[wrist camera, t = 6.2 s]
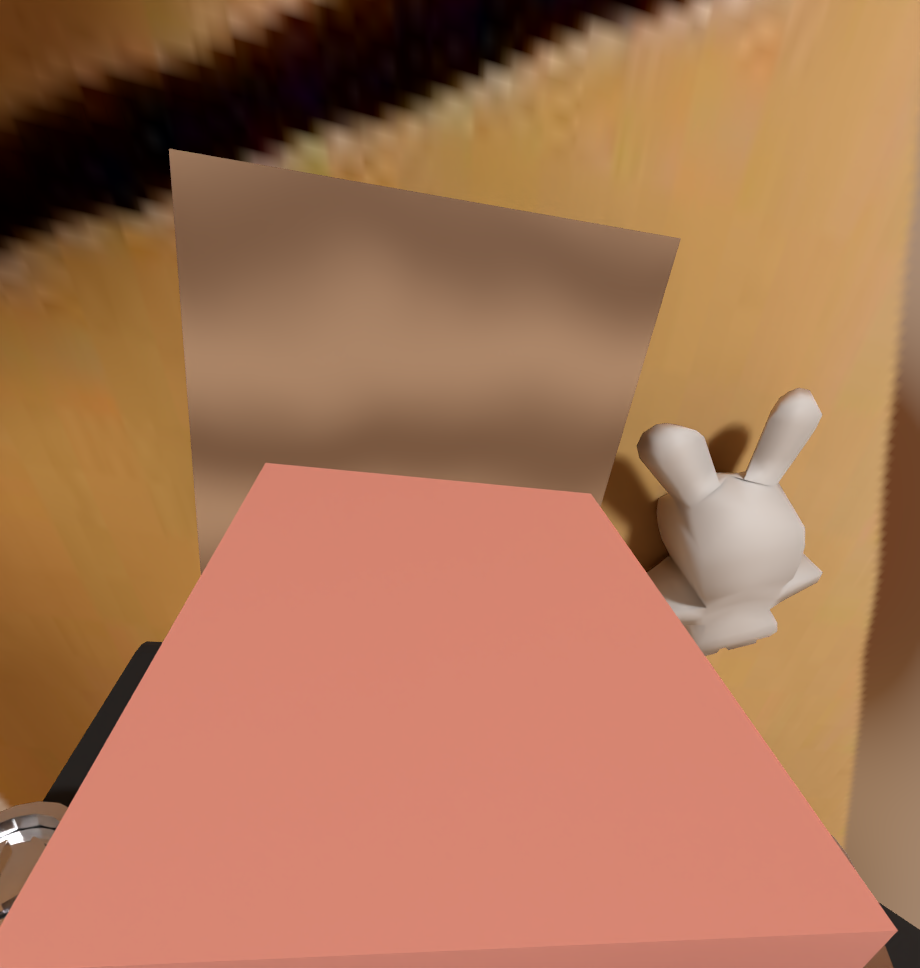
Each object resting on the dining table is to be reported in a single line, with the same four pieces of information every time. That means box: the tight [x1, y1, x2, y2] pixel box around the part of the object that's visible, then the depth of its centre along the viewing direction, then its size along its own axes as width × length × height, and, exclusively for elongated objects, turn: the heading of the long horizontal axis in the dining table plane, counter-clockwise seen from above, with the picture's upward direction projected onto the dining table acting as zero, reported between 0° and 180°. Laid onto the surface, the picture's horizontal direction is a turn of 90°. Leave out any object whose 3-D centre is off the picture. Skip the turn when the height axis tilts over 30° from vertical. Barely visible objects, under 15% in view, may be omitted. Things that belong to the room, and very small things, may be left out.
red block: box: [0, 463, 898, 968], centre depth 8 cm, size 6×6×7 cm
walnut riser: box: [169, 149, 680, 575], centre depth 22 cm, size 16×16×5 cm
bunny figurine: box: [637, 388, 823, 656], centre depth 26 cm, size 10×5×15 cm
